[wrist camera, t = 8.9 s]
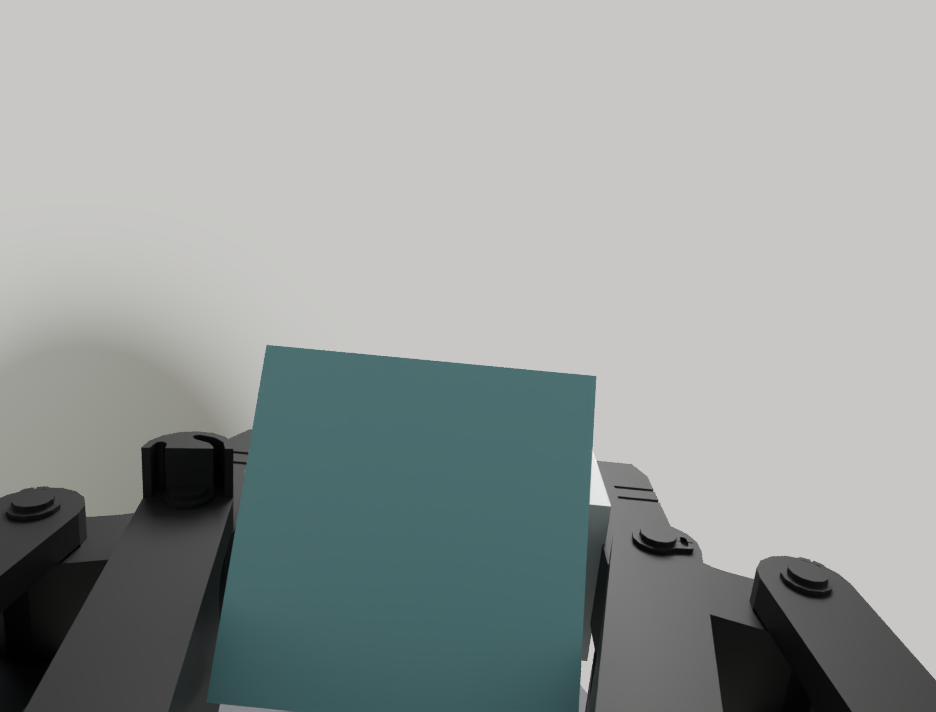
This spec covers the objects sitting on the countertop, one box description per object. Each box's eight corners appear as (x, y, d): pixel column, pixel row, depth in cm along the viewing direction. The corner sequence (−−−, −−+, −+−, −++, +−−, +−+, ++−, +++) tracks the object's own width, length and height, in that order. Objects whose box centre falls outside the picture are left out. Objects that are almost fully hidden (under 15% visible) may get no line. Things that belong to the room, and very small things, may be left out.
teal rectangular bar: (576, 739, 8) (595, 375, 9) (206, 703, 8) (266, 345, 9) (487, 586, 33) (494, 497, 34) (399, 577, 33) (409, 489, 34)
